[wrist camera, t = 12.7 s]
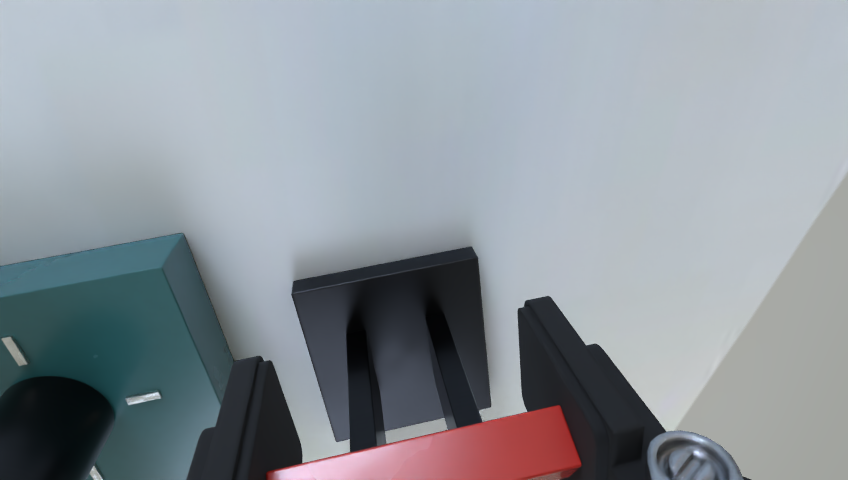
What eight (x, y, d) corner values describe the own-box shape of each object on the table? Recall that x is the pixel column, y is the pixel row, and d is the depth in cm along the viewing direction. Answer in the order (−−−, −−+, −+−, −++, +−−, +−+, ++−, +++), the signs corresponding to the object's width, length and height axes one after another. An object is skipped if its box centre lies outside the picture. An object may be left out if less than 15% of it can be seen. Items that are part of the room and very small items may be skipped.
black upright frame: (292, 280, 24) (258, 515, 13) (471, 245, 25) (581, 439, 14) (335, 426, 28) (337, 691, 18) (486, 392, 29) (576, 626, 18)
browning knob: (131, 438, 22) (77, 555, 18) (30, 461, 22) (-52, 586, 17) (88, 365, 20) (15, 474, 16) (-24, 388, 20) (-133, 507, 15)
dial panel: (56, 467, 26) (22, 526, 23) (-75, 279, 21) (-142, 325, 18) (259, 423, 27) (249, 474, 24) (183, 231, 22) (159, 268, 19)
